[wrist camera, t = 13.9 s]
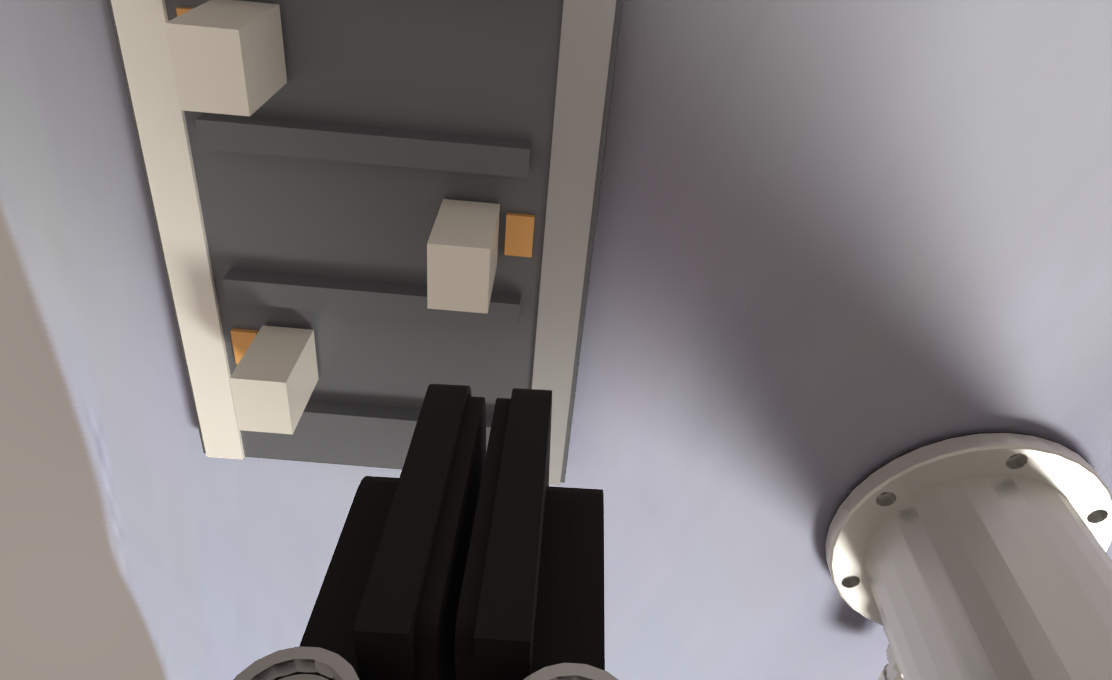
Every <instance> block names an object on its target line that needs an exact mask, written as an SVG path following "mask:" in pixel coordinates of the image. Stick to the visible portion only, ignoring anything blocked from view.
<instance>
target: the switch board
mask: <svg viewBox="0 0 1112 680" xmlns="http://www.w3.org/2000/svg"><path fill="white" fill-rule="evenodd" d="M208 1H210V0H108V4H109V8H110V13H111V18H112V23H113V27H114V32H115V37H116V41H117V46H118V51H119V56H120V60H121V65H122V70H123V74H124V79H125V84H126V89H127V93H128V98H129V103H130V107H131V112H132V117H133V122H134V126H135V131H136V136H137V140H138V145H139V150H140V155H141V159H142V164H143V169H144V173H145V178H146V183H147V188H148V192H149V197H150V202H151V206H152V211H153V216H154V221H155V225H156V230H157V235H158V239H159V244H160V249H161V254H162V258H163V263H164V268H165V272H166V277H167V282H168V287H169V291H170V296H171V301H172V305H173V310H174V315H175V320H176V324H177V329H178V334H179V338H180V343H181V348H182V353H183V357H184V362H185V367H186V371H187V376H188V381H189V386H190V390H191V395H192V400H193V404H194V409H195V414H196V419H197V423H198V428H199V433H200V437H201V442H202V447H203V452H204V453H206V456H207V457H216V458H229V459H241V460H243V459H244V457H256V458H268V459H280V460H293V461H305V462H317V463H330V464H342V465H354V466H367V467H379V468H391V469H403V466H404V462H405V459H406V456H407V453H408V449H409V446H410V443H411V440H412V436H413V433H414V430H415V427H416V424H417V420H418V417H419V414H420V411H421V407H422V404H423V401H424V398H425V394H426V391H427V388H428V386H429V385H430V384H447V385H465V386H470V387H471V395H472V396H473V397H484V398H485V403H486V452H487V446H488V441H489V435H490V430H491V424H492V419H493V413H494V408H495V402H496V399H497V398H509V399H511V395H512V390H513V388H519V389H538V390H552V415H551V440H550V465H549V484H550V485H560V482H564V483H565V474H566V466H567V458H568V449H569V441H570V433H571V424H572V416H573V408H574V399H575V391H576V383H577V374H578V366H579V358H580V350H581V341H582V333H583V325H584V316H585V308H586V300H587V291H588V283H589V275H590V266H591V258H592V250H593V241H594V233H595V225H596V216H597V208H598V200H599V192H600V183H601V175H602V167H603V158H604V150H605V142H606V133H607V125H608V117H609V108H610V100H611V92H612V83H613V75H614V67H615V58H616V50H617V42H618V34H619V25H620V17H621V9H622V0H239V1H249V2H260V3H271V4H279V6H280V16H281V26H282V36H283V46H284V55H285V65H286V75H287V83H286V84H285V85H284V86H283V87H282V88H281V89H280V90H278V91H277V92H276V93H275V94H274V95H273V96H272V97H271V98H270V99H269V100H267V101H266V102H265V103H264V104H263V105H262V106H261V107H260V108H259V109H258V110H256V111H255V112H254V113H253V114H252V115H251V116H238V115H227V114H216V113H205V112H194V111H183V110H180V106H179V100H178V95H177V89H176V84H175V78H174V72H173V67H172V61H171V55H170V50H169V44H168V39H167V33H166V27H165V23H166V22H168V21H170V20H172V19H174V18H176V17H178V16H180V15H182V14H184V13H186V12H188V11H190V10H192V9H194V8H196V7H198V6H200V5H202V4H204V3H206V2H208ZM443 199H450V200H461V201H472V202H484V203H495V204H500V213H499V235H498V256H497V267H496V272H495V278H494V283H493V288H492V293H491V299H490V304H489V309H488V314H486V313H474V312H462V311H451V310H439V309H427V242H428V239H429V237H430V234H431V231H432V228H433V226H434V223H435V220H436V217H437V215H438V212H439V209H440V206H441V204H442V201H443ZM262 325H264V326H276V327H288V328H299V329H311V330H314V338H315V348H316V358H317V368H318V378H319V379H318V381H317V383H316V386H315V388H314V390H313V392H312V394H311V396H310V398H309V401H308V403H307V405H306V407H305V409H304V411H303V413H302V416H301V418H300V420H299V422H298V424H297V426H296V428H295V430H294V433H293V435H292V434H280V433H267V432H255V431H243V430H238V424H237V419H236V413H235V407H234V402H233V396H232V390H231V385H230V379H229V378H230V376H231V375H232V373H233V371H234V370H235V368H236V367H237V365H238V363H239V362H240V360H241V359H242V357H243V355H244V354H245V352H246V351H247V349H248V348H249V346H250V344H251V343H252V341H253V340H254V338H255V336H256V335H257V333H258V332H259V330H260V328H261V327H262Z"/></svg>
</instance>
